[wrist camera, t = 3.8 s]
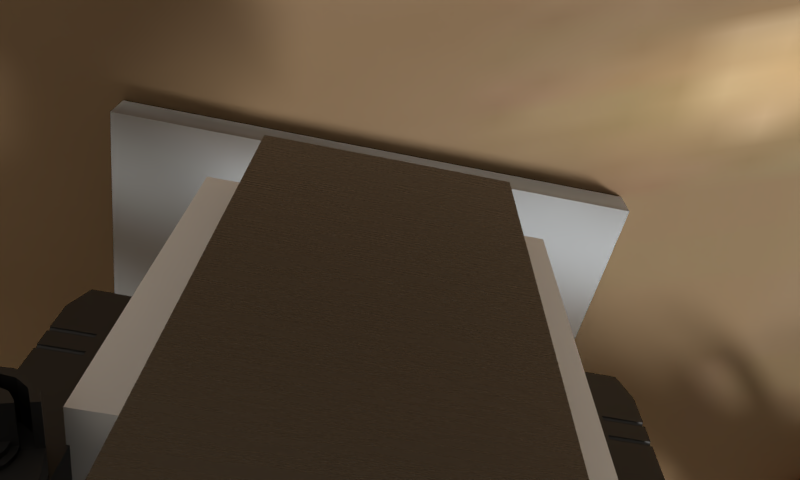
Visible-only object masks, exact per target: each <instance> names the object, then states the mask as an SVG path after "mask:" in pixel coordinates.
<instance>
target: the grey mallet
mask: <svg viewBox="0 0 800 480" xmlns="http://www.w3.org/2000/svg"><path fill="white" fill-rule="evenodd" d="M85 480H589V477H588V473H587V470H586V466H585V462H584V458H583V455H582V451H581V447H580V444H579V440H578V436H577V432H576V429H575V425H574V421H573V417H572V414H571V410H570V406H569V402H568V399H567V395H566V391H565V387H564V384H563V380H562V376H561V372H560V369H559V365H558V361H557V358H556V354H555V350H554V346H553V343H552V339H551V335H550V331H549V328H548V324H547V320H546V316H545V313H544V309H543V305H542V301H541V298H540V294H539V290H538V286H537V283H536V279H535V275H534V272H533V268H532V264H531V260H530V257H529V253H528V249H527V245H526V242H525V238H524V234H523V230H522V227H521V223H520V219H519V215H518V212H517V208H516V204H515V200H514V197H513V193H512V189H511V186H510V182H507V181H502V180H496V179H491V178H486V177H481V176H476V175H471V174H465V173H460V172H455V171H450V170H445V169H440V168H434V167H429V166H424V165H419V164H414V163H408V162H403V161H398V160H393V159H388V158H383V157H377V156H372V155H367V154H362V153H357V152H351V151H346V150H341V149H336V148H331V147H326V146H320V145H315V144H310V143H305V142H300V141H294V140H289V139H284V138H279V137H274V136H269V135H264V137H263V138H262V140H261V142H260V144H259V146H258V148H257V150H256V152H255V154H254V156H253V158H252V160H251V162H250V163H249V165H248V167H247V169H246V171H245V173H244V175H243V177H242V179H241V181H240V183H239V185H238V187H237V189H236V190H235V192H234V194H233V196H232V198H231V200H230V202H229V204H228V206H227V208H226V210H225V212H224V214H223V215H222V217H221V219H220V221H219V223H218V225H217V227H216V229H215V231H214V233H213V235H212V237H211V239H210V241H209V242H208V244H207V246H206V248H205V250H204V252H203V254H202V256H201V258H200V260H199V262H198V264H197V266H196V267H195V269H194V271H193V273H192V275H191V277H190V279H189V281H188V283H187V285H186V287H185V289H184V291H183V292H182V294H181V296H180V298H179V300H178V302H177V304H176V306H175V308H174V310H173V312H172V314H171V316H170V318H169V319H168V321H167V323H166V325H165V327H164V329H163V331H162V333H161V335H160V337H159V339H158V341H157V343H156V344H155V346H154V348H153V350H152V352H151V354H150V356H149V358H148V360H147V362H146V364H145V366H144V368H143V370H142V371H141V373H140V375H139V377H138V379H137V381H136V383H135V385H134V387H133V389H132V391H131V393H130V395H129V396H128V398H127V400H126V402H125V404H124V406H123V408H122V410H121V412H120V414H119V416H118V418H117V420H116V422H115V423H114V425H113V427H112V429H111V431H110V433H109V435H108V437H107V439H106V441H105V443H104V445H103V447H102V448H101V450H100V452H99V454H98V456H97V458H96V460H95V462H94V464H93V466H92V468H91V470H90V472H89V474H88V475H87V477H86V479H85Z"/></svg>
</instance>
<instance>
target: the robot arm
mask: <svg viewBox="0 0 800 480" xmlns="http://www.w3.org/2000/svg"><path fill="white" fill-rule="evenodd" d="M238 185H239V182H234V181H228V180H223V179H217V178H212V177H206V179H205V181H204V182H203V184H202V185H201V187H200V189H199V190H198V192H197V193H196V195H195V197H194V198H193V200H192V201H191V203H190V205H189V206H188V208H187V209H186V211H185V213H184V214H183V216H182V217H181V219H180V221H179V222H178V224H177V225H176V227H175V229H174V230H173V232H172V233H171V235H170V237H169V238H168V240H167V241H166V243H165V245H164V246H163V248H162V249H161V251H160V253H159V254H158V256H157V257H156V259H155V261H154V262H153V264H152V265H151V267H150V269H149V270H148V272H147V273H146V275H145V277H144V278H143V280H142V281H141V283H140V285H139V286H138V288H137V289H136V291H135V293H134V294H133V296H127V295H121V294H115V293H109V292H103V291H97V290H91V291H89V292H87V293H86V294H84V295H82V296H81V297H79V298H77V299H76V300H74V301H73V302H71V303H69V304H68V305H66V306H65V308H64V309H63V310H62V312H61V313H60V314H59V316H58V317H57V318H56V319H55V321H54V322H53V323H52V325H51V326H50V330H49V331H46V333H45V334H44V335H43V337H42V338H41V339H40V341H39V342H38V343H37V347H36V348H34V349H33V350H32V351H31V353H30V354H29V355H28V357H27V358H26V359H25V361H24V362H23V363H22V365H21V366H20V367H19V369H18V370H17V369H14V368H7V367H0V480H85V479H86V477H87V475H88V474H89V472H90V470H91V468H92V466H93V464H94V462H95V460H96V458H97V456H98V454H99V452H100V450H101V448H102V447H103V445H104V443H105V441H106V439H107V437H108V435H109V433H110V431H111V429H112V427H113V425H114V423H115V422H116V420H117V418H118V416H119V414H120V412H121V410H122V408H123V406H124V404H125V402H126V400H127V398H128V396H129V395H130V393H131V391H132V389H133V387H134V385H135V383H136V381H137V379H138V377H139V375H140V373H141V371H142V370H143V368H144V366H145V364H146V362H147V360H148V358H149V356H150V354H151V352H152V350H153V348H154V346H155V344H156V343H157V341H158V339H159V337H160V335H161V333H162V331H163V329H164V327H165V325H166V323H167V321H168V319H169V318H170V316H171V314H172V312H173V310H174V308H175V306H176V304H177V302H178V300H179V298H180V296H181V294H182V292H183V291H184V289H185V287H186V285H187V283H188V281H189V279H190V277H191V275H192V273H193V271H194V269H195V267H196V266H197V264H198V262H199V260H200V258H201V256H202V254H203V252H204V250H205V248H206V246H207V244H208V242H209V241H210V239H211V237H212V235H213V233H214V231H215V229H216V227H217V225H218V223H219V221H220V219H221V217H222V215H223V214H224V212H225V210H226V208H227V206H228V204H229V202H230V200H231V198H232V196H233V194H234V192H235V190H236V189H237V187H238ZM524 238H525V242H526V245H527V249H528V253H529V257H530V260H531V264H532V268H533V272H534V275H535V279H536V283H537V286H538V290H539V294H540V298H541V301H542V305H543V309H544V313H545V316H546V320H547V324H548V328H549V331H550V335H551V339H552V343H553V346H554V350H555V354H556V358H557V361H558V365H559V369H560V372H561V376H562V380H563V384H564V387H565V391H566V395H567V399H568V402H569V406H570V410H571V414H572V417H573V421H574V425H575V429H576V432H577V436H578V440H579V444H580V447H581V451H582V455H583V458H584V462H585V466H586V470H587V473H588V477H589V480H665V479H664V476H663V473H662V471H661V468H660V466H659V463H658V461H657V458H656V455H655V453H654V450H653V448H652V447H651V446H650V440H649V437H648V435H647V432H646V429H645V427H642V424H643V422H642V419H641V416H640V414H639V411H638V409H637V406H636V403H635V401H634V399H633V398H632V396H631V395H630V394H629V393H628V392H627V391H626V389H625V388H624V387H623V386H622V385H621V383H620V382H619V381H618V380H617V379H616V377H611V376H606V375H600V374H594V373H588V372H584V369H583V365H582V362H581V359H580V356H579V353H578V349H577V346H576V343H575V340H574V337H573V333H572V330H571V327H570V324H569V321H568V317H567V314H566V311H565V308H564V305H563V301H562V298H561V295H560V292H559V289H558V286H557V282H556V279H555V276H554V273H553V270H552V266H551V263H550V260H549V257H548V254H547V250H546V247H545V244H544V241H543V239H539V238H533V237H528V236H524Z"/></svg>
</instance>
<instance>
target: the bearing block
mask: <svg viewBox="0 0 800 480" xmlns="http://www.w3.org/2000/svg"><path fill="white" fill-rule="evenodd" d="M110 125H111V167H112V210H113V252H114V293H115V294H121V295H127V296H133V294H134V293H135V291H136V289H137V288H138V286H139V285H140V283H141V281H142V280H143V278H144V277H145V275H146V273H147V272H148V270H149V269H150V267H151V265H152V264H153V262H154V261H155V259H156V257H157V256H158V254H159V253H160V251H161V249H162V248H163V246H164V245H165V243H166V241H167V240H168V238H169V237H170V235H171V233H172V232H173V230H174V229H175V227H176V225H177V224H178V222H179V221H180V219H181V217H182V216H183V214H184V213H185V211H186V209H187V208H188V206H189V205H190V203H191V201H192V200H193V198H194V197H195V195H196V193H197V192H198V190H199V189H200V187H201V185H202V184H203V182H204V181H205V179H206V177H212V178H217V179H223V180H228V181H234V182H239V183H240V181H241V179H242V177H243V175H244V173H245V171H246V169H247V167H248V165H249V163H250V162H251V160H252V158H253V156H254V154H255V152H256V150H257V148H258V146H259V144H260V142H261V140H262V138H263V137H264V135H269V136H274V137H279V138H284V139H289V140H294V141H300V142H305V143H310V144H315V145H320V146H326V147H331V148H336V149H341V150H346V151H351V152H357V153H362V154H367V155H372V156H377V157H383V158H388V159H393V160H398V161H403V162H408V163H414V164H419V165H424V166H429V167H434V168H440V169H445V170H450V171H455V172H460V173H465V174H471V175H476V176H481V177H486V178H491V179H496V180H502V181H507V182H510V186H511V189H512V193H513V197H514V200H515V204H516V208H517V212H518V215H519V219H520V223H521V227H522V230H523V234H524V236H528V237H533V238H539V239H543V241H544V244H545V247H546V250H547V254H548V257H549V260H550V263H551V266H552V270H553V273H554V276H555V279H556V282H557V286H558V289H559V292H560V295H561V298H562V301H563V305H564V308H565V311H566V314H567V317H568V321H569V324H570V327H571V330H572V333H573V337H574V340H575V337H576V335H577V333H578V330H579V328H580V326H581V323H582V321H583V319H584V316H585V314H586V312H587V309H588V307H589V305H590V302H591V300H592V298H593V295H594V293H595V291H596V288H597V286H598V284H599V281H600V279H601V277H602V274H603V272H604V270H605V267H606V265H607V263H608V260H609V258H610V256H611V253H612V251H613V249H614V246H615V244H616V241H617V239H618V237H619V234H620V232H621V230H622V227H623V225H624V223H625V220H626V218H627V216H628V213H629V210H628V208H627V206H626V205H625V203H624V201H623V199H622V198H621V197H619V196H614V195H609V194H604V193H599V192H593V191H588V190H583V189H578V188H573V187H568V186H562V185H557V184H552V183H547V182H542V181H537V180H531V179H526V178H521V177H516V176H511V175H506V174H501V173H495V172H490V171H485V170H480V169H475V168H470V167H464V166H459V165H454V164H449V163H444V162H439V161H433V160H428V159H423V158H418V157H413V156H408V155H403V154H397V153H392V152H387V151H382V150H377V149H372V148H366V147H361V146H356V145H351V144H346V143H341V142H336V141H330V140H325V139H320V138H315V137H310V136H305V135H299V134H294V133H289V132H284V131H279V130H274V129H268V128H263V127H258V126H253V125H248V124H243V123H238V122H232V121H227V120H222V119H217V118H212V117H207V116H201V115H196V114H191V113H186V112H181V111H176V110H170V109H165V108H160V107H155V106H150V105H145V104H140V103H134V102H129V101H124V100H123V101H122V102H121V103H119V104H118V105H117V106H116V107H115V108H114V109H113V110H111V111H110Z"/></svg>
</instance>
